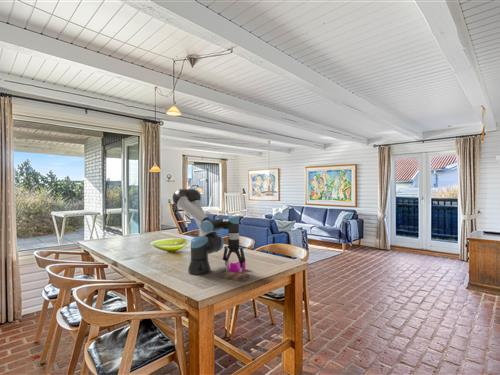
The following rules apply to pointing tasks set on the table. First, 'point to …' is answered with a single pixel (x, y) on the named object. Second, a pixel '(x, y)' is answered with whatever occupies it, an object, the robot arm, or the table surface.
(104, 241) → the table surface
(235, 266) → the toy block
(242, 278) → the brown flat bar
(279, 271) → the table surface
